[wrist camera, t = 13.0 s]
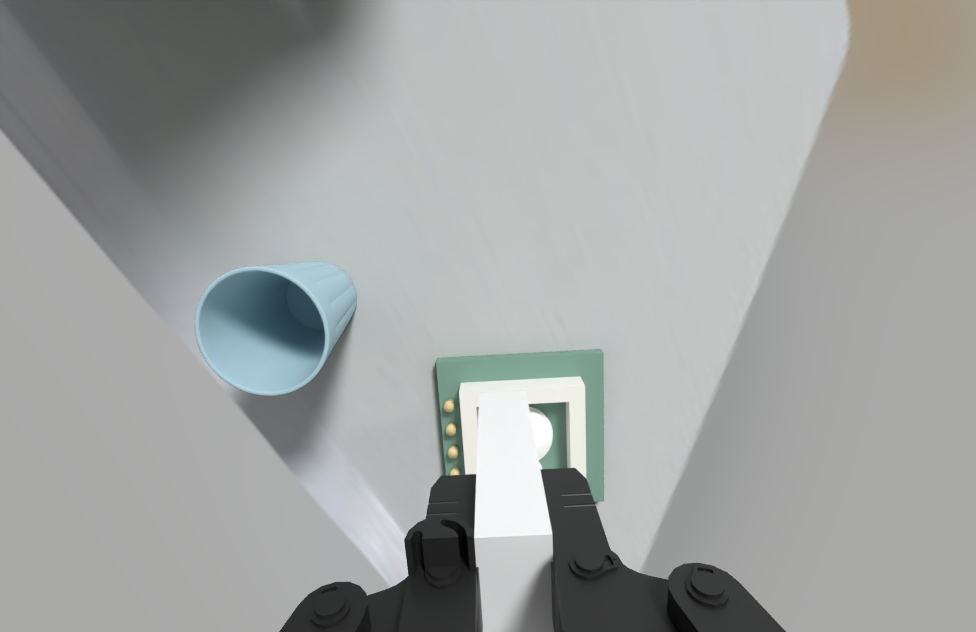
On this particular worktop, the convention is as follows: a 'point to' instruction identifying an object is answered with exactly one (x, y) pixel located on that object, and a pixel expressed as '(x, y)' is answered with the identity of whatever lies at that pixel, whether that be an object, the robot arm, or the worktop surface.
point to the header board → (549, 387)
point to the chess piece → (541, 432)
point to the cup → (273, 324)
